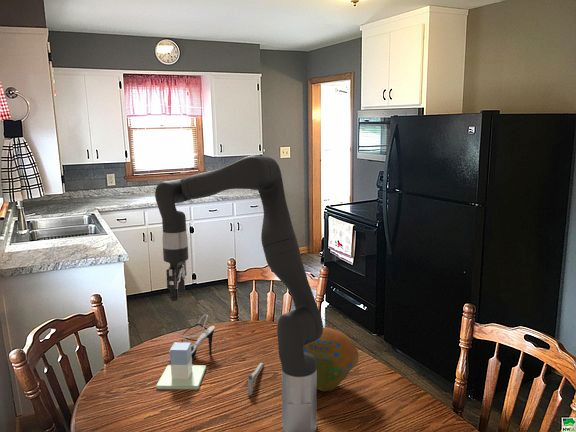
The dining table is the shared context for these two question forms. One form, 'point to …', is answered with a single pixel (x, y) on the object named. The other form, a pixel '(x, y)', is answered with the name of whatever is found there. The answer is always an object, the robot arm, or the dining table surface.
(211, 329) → the sandal
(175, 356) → the brick top
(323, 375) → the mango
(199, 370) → the base plate
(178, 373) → the white cube
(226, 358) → the dining table surface
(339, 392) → the dining table surface
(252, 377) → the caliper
